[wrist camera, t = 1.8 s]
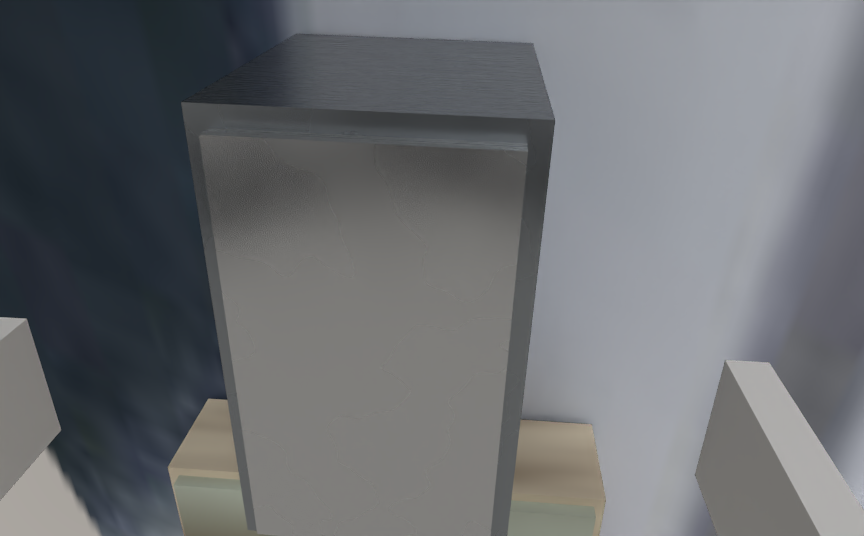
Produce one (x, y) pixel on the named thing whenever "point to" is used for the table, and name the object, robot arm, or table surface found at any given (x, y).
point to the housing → (374, 276)
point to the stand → (531, 496)
